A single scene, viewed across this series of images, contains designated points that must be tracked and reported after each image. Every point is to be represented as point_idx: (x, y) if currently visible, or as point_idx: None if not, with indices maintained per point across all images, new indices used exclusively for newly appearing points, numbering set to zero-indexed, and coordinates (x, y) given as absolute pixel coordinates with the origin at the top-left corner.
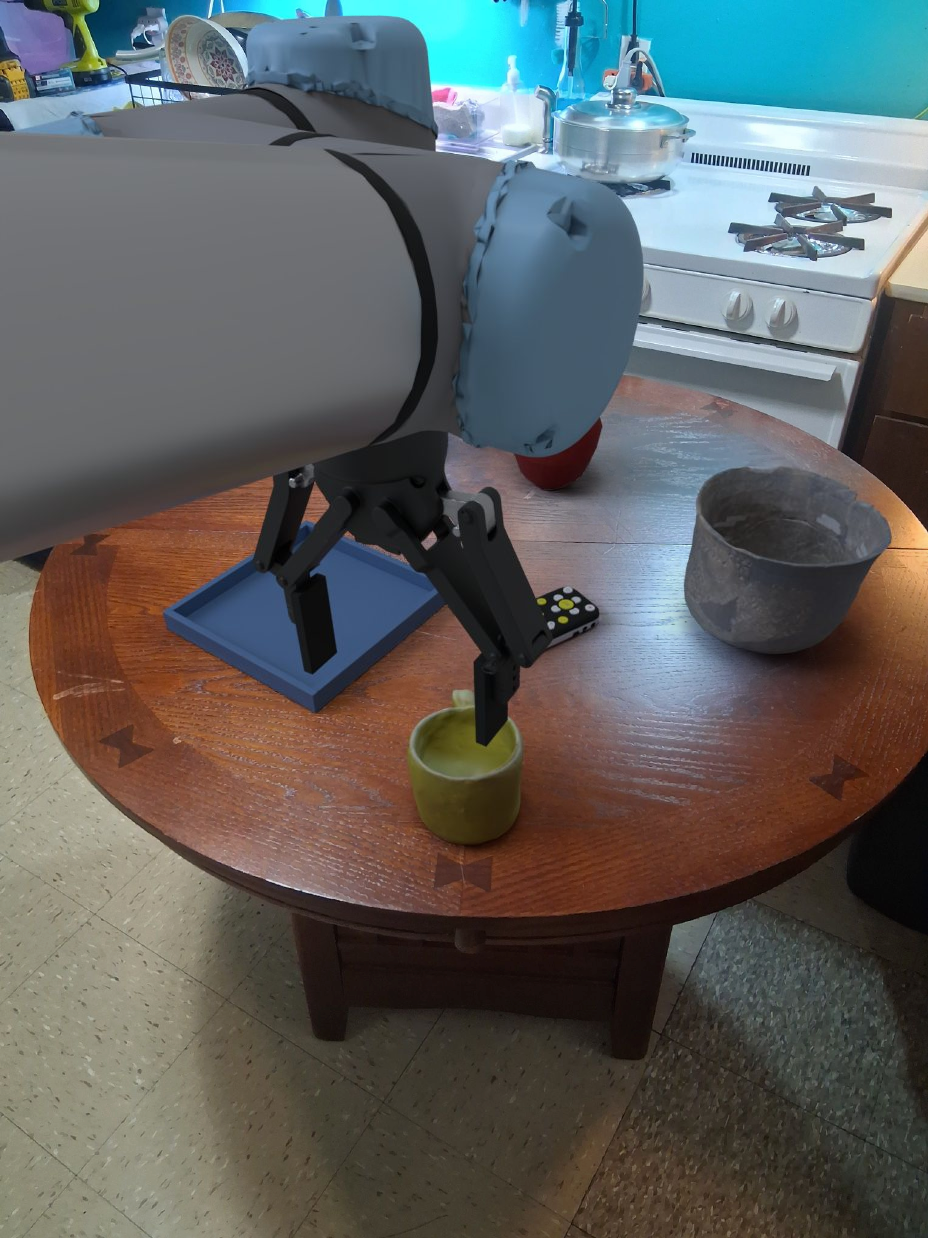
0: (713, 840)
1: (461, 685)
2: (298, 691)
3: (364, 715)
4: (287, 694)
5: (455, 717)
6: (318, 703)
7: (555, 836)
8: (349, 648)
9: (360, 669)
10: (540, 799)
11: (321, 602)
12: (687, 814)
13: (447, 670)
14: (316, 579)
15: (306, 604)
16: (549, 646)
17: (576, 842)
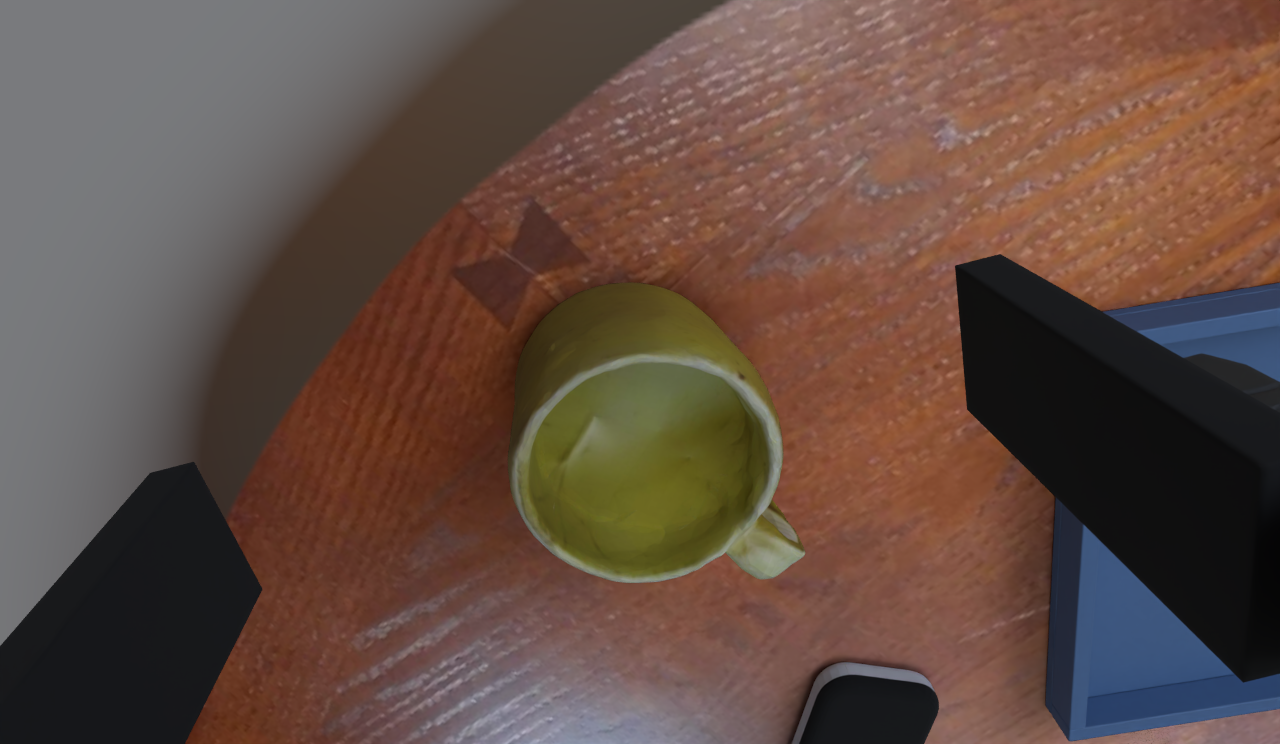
0: (270, 615)
1: (863, 570)
2: (1136, 325)
3: None
4: (1158, 306)
5: (740, 505)
6: None
7: (460, 442)
8: None
9: None
10: None
11: (1143, 532)
12: (338, 626)
13: (914, 578)
14: (1272, 631)
15: (1189, 466)
16: (793, 739)
17: (423, 459)
